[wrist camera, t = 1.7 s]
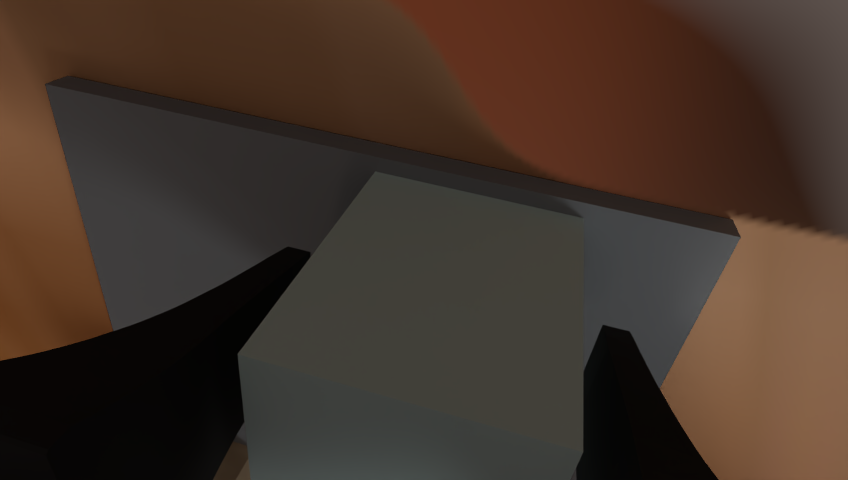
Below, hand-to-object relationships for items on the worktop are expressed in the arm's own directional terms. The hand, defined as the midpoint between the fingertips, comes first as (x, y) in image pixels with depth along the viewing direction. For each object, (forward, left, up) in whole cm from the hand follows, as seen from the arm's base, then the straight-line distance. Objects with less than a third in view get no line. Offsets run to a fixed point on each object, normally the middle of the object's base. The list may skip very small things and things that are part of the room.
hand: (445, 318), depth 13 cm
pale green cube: (0, 0, -2) cm, 2 cm away
